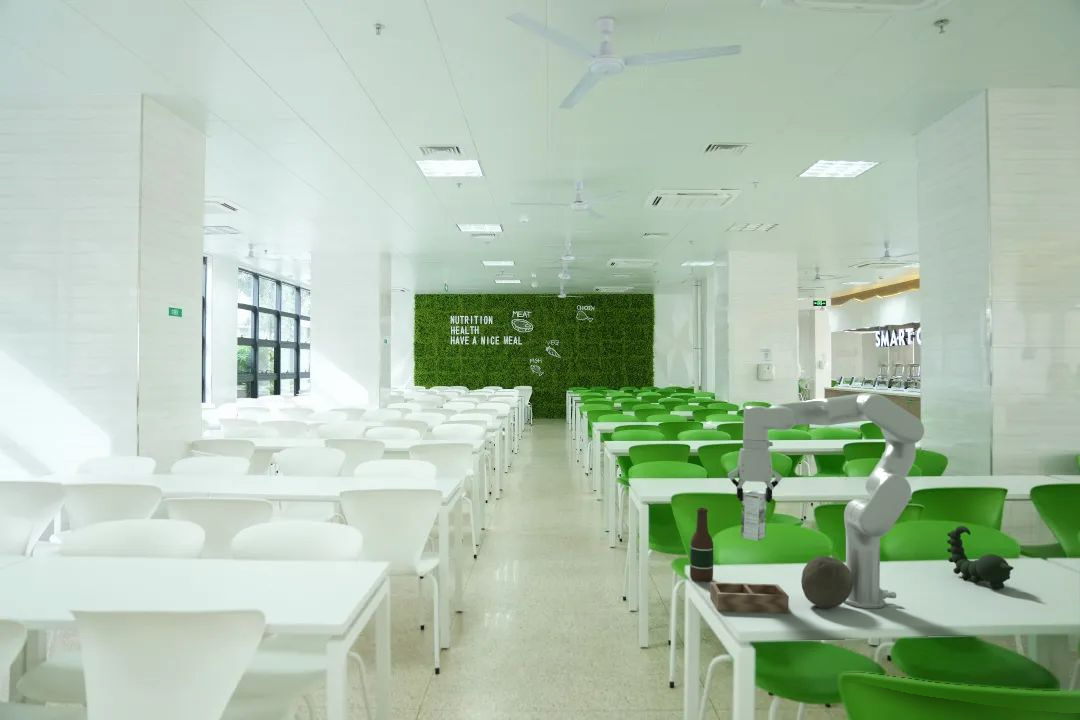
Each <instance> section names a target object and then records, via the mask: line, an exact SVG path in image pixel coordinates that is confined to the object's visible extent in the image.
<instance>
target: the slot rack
mask: <svg viewBox="0 0 1080 720" xmlns="http://www.w3.org/2000/svg"><path fill="white" fill-rule="evenodd" d="M709 583H710V587H709V588H710V589H709V599H710V601H711V602H712V604H713V606H714V607H715V610H716V611H717V612H741V613H765V614H766V613H768V614H772V613H773V614H789V607H790V606H789V603H790V599H789V598H790V597H789V594H787V593H786V592H785V590H784V589H782V587H781V586H780V585H779V584H778V583H777V584H775V583H774V584H773V583H772V584H770V583H741V582H717V581H715V582H713V581H710V582H709Z"/></svg>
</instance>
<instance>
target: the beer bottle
mask: <svg viewBox="0 0 1080 720" xmlns="http://www.w3.org/2000/svg"><path fill="white" fill-rule="evenodd" d="M696 512H697V515H696V528H695V532H693V534H692V535H691V538H690V545H689V546H690V547H689V550H690V551H689V577H690V579H691V580H692V581H694V582H698V583H710V582H713V580H714V579H713V578H714V542H713V538H712V536H711V535H710V533H709V529H708V512H709V511H708V508H707V507H698V508H696Z"/></svg>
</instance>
